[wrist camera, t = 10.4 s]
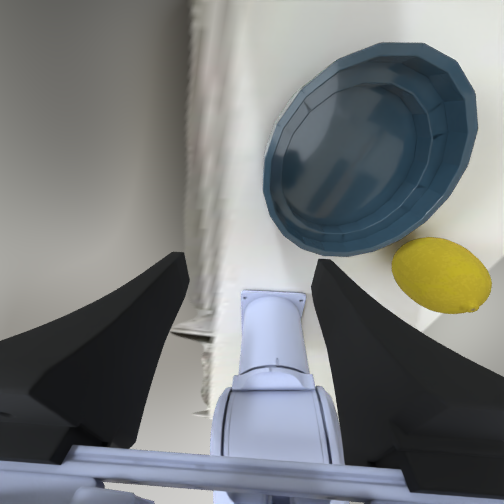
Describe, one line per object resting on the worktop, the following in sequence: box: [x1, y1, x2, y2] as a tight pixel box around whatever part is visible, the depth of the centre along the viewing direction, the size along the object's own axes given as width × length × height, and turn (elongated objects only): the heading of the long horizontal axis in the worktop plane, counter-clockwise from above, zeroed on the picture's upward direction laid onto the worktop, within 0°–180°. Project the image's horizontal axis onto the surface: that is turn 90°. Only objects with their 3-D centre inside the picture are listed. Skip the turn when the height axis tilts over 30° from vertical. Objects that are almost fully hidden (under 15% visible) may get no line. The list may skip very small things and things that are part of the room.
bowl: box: [263, 42, 478, 257], centre depth 15 cm, size 13×13×4 cm
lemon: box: [392, 237, 492, 314], centre depth 17 cm, size 6×6×8 cm
